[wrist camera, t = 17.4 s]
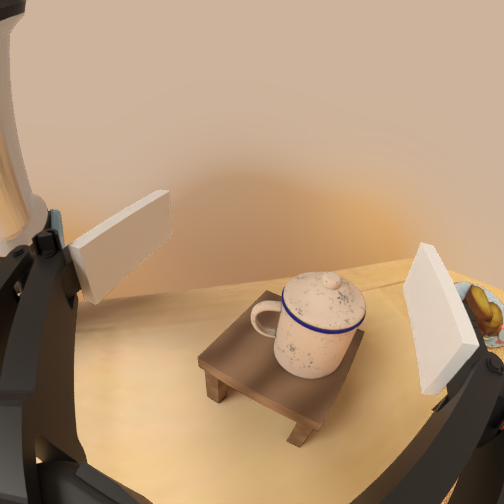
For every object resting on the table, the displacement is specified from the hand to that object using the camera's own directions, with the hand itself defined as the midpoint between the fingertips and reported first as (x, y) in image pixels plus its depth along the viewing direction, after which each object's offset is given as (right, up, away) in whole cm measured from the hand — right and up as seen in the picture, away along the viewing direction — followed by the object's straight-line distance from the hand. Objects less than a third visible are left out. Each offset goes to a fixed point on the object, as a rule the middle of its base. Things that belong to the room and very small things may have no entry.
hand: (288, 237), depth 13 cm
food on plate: (+58, -18, +39) cm, 72 cm away
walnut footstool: (+2, -21, +24) cm, 32 cm away
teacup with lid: (+4, -13, +19) cm, 23 cm away
